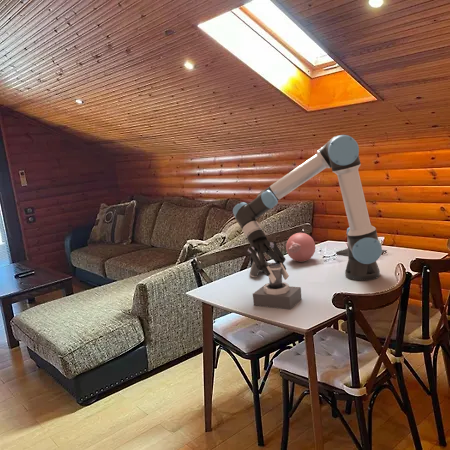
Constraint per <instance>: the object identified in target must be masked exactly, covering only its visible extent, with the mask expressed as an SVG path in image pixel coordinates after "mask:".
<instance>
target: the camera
mask: <svg viewBox="0 0 450 450" xmlns="http://www.w3.org/2000/svg"><path fill="white" fill-rule="evenodd" d="M256 254H257V252H256ZM257 256H258V254H257ZM258 258H259V256H258ZM265 262H266V267H267V266H268V264H270V263H271V262H268V261H266V260H265ZM251 263H252V264H251V266H250V272H249V275H250V277H252V278H258V275H259V273H260V272H262V273H265V272H264V271H262V270H261V269H260V270H258V269H257V267H256V265H255V263H254V261H253V260H252V262H251Z"/></svg>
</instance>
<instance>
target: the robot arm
mask: <svg viewBox="0 0 450 450" xmlns="http://www.w3.org/2000/svg"><path fill="white" fill-rule="evenodd" d="M359 153H360V147H359V144H358V142H357V141H356V139H355V138H353V137H352V136H350V135H348V134H340V135H335V136H333V137H331V138H330V139H329V140H328V141H327V142H326V143H325V144H324V145H322V146H321V147H320V148H319V149H317V151H316V154H314V155H313V156H311V157H310V158H308V159H307V160H306V161H304V162H303V163H301V164H300V165H298V166H297V167H295V168H294V169H293V170H291V171H290V172H288V173H287V174H285V175H284V176H282V177H281V178H279V179H278V180H277V181H275V182H274V183H272V184H271V185H269V187H266V188H265V189H264V190H261V191H259V192H258V194H257V196H256V197H255V198H254V199H253V200H251V201H250V202H248V203H247V202H244V201H243V202H239V203H237V204H236V205H235V206H234V207H233V209H232V214H233V216H234V218H235V221H237V223H238V225H239V228H240V229H241V230H242V232H243V234H244V236H245V238H246V239H247V242H248V243H249V244H250V247H248V249H247V253H248V254H249V255H250V257H251V259H252V262H253V261H254V263H255V265H256V267H257V269H258V270H260V269H261V270H262V271H261V272H263V271H264V272H263V273H264V275H265V276H266V277H268V279H269V278H270V280H271V282H272V283H274V282H275V281H276V278H275V276H274V274H273V273H272V271H271V269H270V267H269V266H267V267H266V262H265V261H266V259H265V254H266V255H268V256H269V257H270V258H271V259H272V261H274V263H281V266H282V269H281V270H282V278H283V279H284V280H285V281H286V280H287V279H288V278H289V276H290V275H289V273H288V271H287V267H286V266H285V261H286V257H285V255H284V254H283V253H282V251H281V250H280V248H279V246H278V244H277V241H273V242H270V240H268V238H267V235H266V234H265V232H264V230H263V228H262V227H261V225H260V224H259V222H258V221H257V219H259V218H260V217H261V216H263V215H264V214H265V213H267V212H269V211H270V210H271V209H273V208H274V207H276V206H277V205H278V204H279V201H280V200H281V199H282V198H284V197H286V196H287V195H288V194H290V193H291V192H293V191H295V190H296V189H297V188H299V187H300V186H301V185H303V184H304V183H306V182H308V181H309V180H310V179H312V178H313V177H315V176H316V175H318V174H319V173H321V172H322V171H324V170H325V169H331V171H332V173H334V174H335V175H336V176H337V180H338V185H339V188H340V192H341V196H342V201H343V205H344V209H345V214H346V217H347V223H348V226H349V227H347V229H346V239H347V240H346V241H347V248H348V256H347V259H348V260H347V262H346V267H345V271H344V275H345V276H344V277H346V278H347V279H350V280H353V281H371V280H376V279H378V278H380V276H381V273H380V268H379V266H378V265H379V264H378V263H377V261H379V259H380V258H381V256H382V255H383V254H382V250H383V247H382V244H381V242H380V241H379V236H378V232H377V227H375V226H373V225H372V223H371V220H370V215H369V212H368V206H367V202H366V198H365V193H364V190H363V185H362V180H361V177H360V173H359V172H360V171H359V168H360V167H361V165H362V164H361V163H362V162H361V159H360V155H359ZM256 253H257V254H258V256H259V258H258V256H257V254H256ZM381 254H382V255H381Z"/></svg>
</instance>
